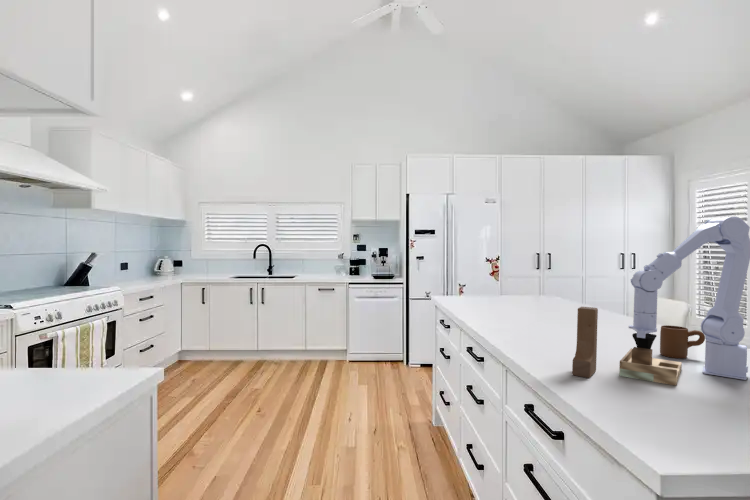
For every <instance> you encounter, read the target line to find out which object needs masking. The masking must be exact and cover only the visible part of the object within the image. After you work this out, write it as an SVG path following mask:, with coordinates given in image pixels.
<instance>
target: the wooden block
mask: <svg viewBox="0 0 750 500" xmlns="http://www.w3.org/2000/svg"><path fill="white" fill-rule="evenodd" d="M598 314H599V310H598V307H590V306H579V307H578V308H577V316H576V317H577V322H576V323H577V324H576V347H575V354H574V357H573V359H572V370H571V371H572V376H574V377H575V376H576V377H582V378H585V379H590V378H591V377H592V376H593V375H594V374H595V372H596V371H597V355H598V354H597V351H598V350H597V349H598V347H597V346H598V319H599V318H598V317H599V316H598Z"/></svg>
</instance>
